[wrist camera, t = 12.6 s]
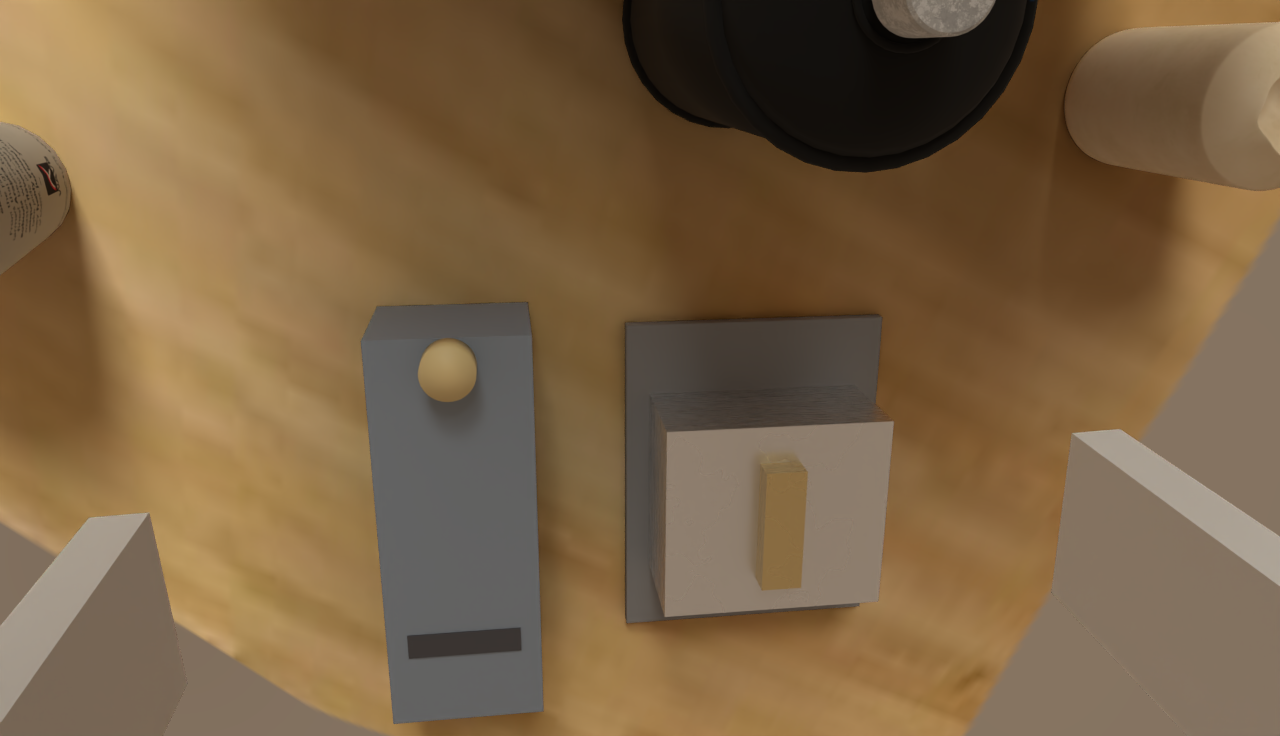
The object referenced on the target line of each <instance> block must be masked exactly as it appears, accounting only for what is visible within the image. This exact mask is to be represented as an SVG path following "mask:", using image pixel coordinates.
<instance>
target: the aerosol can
mask: <svg viewBox="0 0 1280 736" xmlns="http://www.w3.org/2000/svg"><path fill="white" fill-rule="evenodd" d="M1037 2H1038V0H624V2H623V18H622V22H623V30H624V38H625V44H626V47H627V50H628V53H629V57H630V60H631V63H632V65H633V67H634V69H635V71H636V72H637V74H638V76H639V78H640V80H641V82H642V83H643V85H644V86H645V87H646V88H647V89H648V91H649V92H650V93H651V94H652V95H653V97H654V98H655V99H656V100H657V101H659V102H660V103H661V104H662V105H663V106H665V107H666V108H667V109H668V110H670V111H671V112H672V113H674V114H676V115H678V116H680V117H682V118H684V119H686V120H688V121H690V122H693V123H697V124H701V125H704V126H708V127H719V128H735V129H738V130H742V131H745V132H748V133H751V134H754V135H757V136H761V137H764V138H766V139H767V140H768V141H770V142H771V143H772V144H773V145H774V146H776V147H777V148H779V149H780V150H782V151H784V152H786V153H788V154H790V155H792V156H794V157H796V158H798V159H799V160H801V161H803V162H805V163H809V164H813V165H816V166H820V167H823V168H827V169H831V170H834V171H848V172H865V173H866V172H873V171H880V170H887V169H894V168H898V167H901V166H904V165H907V164H910V163H912V162H915V161H918V160H921V159H924V158H926V157H929V156H931V155H932V154H934V153H936V152H937V151H939V150H941V149H942V148H944V147H946V146H947V145H949V144H951V143H953V142H954V141H956V140H957V139H959V138H960V137H961V136H962V135H963V134H964V133H966V132H967V131H968V130H969V129H970V128H971V127H972V126H974V125H975V124H976V123H977V122H978V121H979V120H980V119H982V118H983V116H984V115H985V114H986V113H987V112H988V110H989V109H990V108H991V107H992V105H993V104H994V103H995V102H996V100H997V99H998V98H999V97H1000V95H1001V94H1002V93H1003V92H1004V90H1005V88H1006V87H1007V85H1008V83H1009V81H1010V80H1011V78H1012V76H1013V74H1014V72H1015V71H1016V69H1017V67H1018V65H1019V64H1020V62H1021V59H1022V57H1023V54H1024V51H1025V48H1026V46H1027V43H1028V40H1029V37H1030V34H1031V32H1032V29H1033V24H1034V19H1035V13H1036V8H1037Z"/></svg>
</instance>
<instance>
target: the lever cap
mask: <svg viewBox="0 0 1280 736" xmlns="http://www.w3.org/2000/svg"><path fill="white" fill-rule="evenodd" d="M893 427H894V421H893V420H892V419H891V418H890V417H889V416H888V415H887V414H885V413H884V412H883V411H882V410H881V409H880V408H879V407H878V406H877V405H876V404H875V403H874V402H873V401H871V400H870V399H869V398H868V397H867V396H866V395H865V394H864V393H863V392H862V391H861V390H860V389H859V388H857V387H856V386H855V385H841V386H818V387H794V388H770V389H747V390H723V391H700V392H676V393H652V394H650V419H649V566H650V569H651V573H652V576H653V579H654V583H655V586H656V589H657V593H658V596H659V599H660V603H661V606H662V610H663V613H664V616H665V617H672V616H685V615H699V614H713V613H727V612H741V611H754V610H768V609H782V608H796V607H810V606H823V605H837V604H851V603H865V602H878V600H879V589H880V577H881V565H882V554H883V542H884V531H885V519H886V508H887V496H888V484H889V473H890V461H891V450H892V438H893Z"/></svg>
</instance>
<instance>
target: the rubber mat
mask: <svg viewBox="0 0 1280 736" xmlns="http://www.w3.org/2000/svg"><path fill="white" fill-rule="evenodd" d="M881 329H882V317H881V316H880V315H878V314H875V315H844V316H814V317H783V318H752V319H722V320H691V321H660V322H630V323H625V618H626V622H627V623H636V622H649V621H663V620H677V619H690V618H704V617H718V616H732V615H745V614H759V613H773V612H786V611H800V610H814V609H828V608H841V607H855V606H859V603H851V604H837V605H823V606H810V607H796V608H782V609H768V610H754V611H741V612H727V613H713V614H699V615H685V616H672V617H665V616H664V613H663V610H662V606H661V603H660V599H659V596H658V593H657V589H656V586H655V583H654V579H653V576H652V573H651V569H650V566H649V419H650V394H652V393H676V392H700V391H723V390H747V389H770V388H794V387H818V386H841V385H855V386H856V387H857V388H859V389H860V390H861V391H862V392H863V393H864V394H865V395H866V396H867V397H868V398H869V399H870V400H871V401H873V402H874V403H875V404H876V391H877V379H878V366H879V354H880V341H881Z"/></svg>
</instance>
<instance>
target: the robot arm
mask: <svg viewBox="0 0 1280 736" xmlns="http://www.w3.org/2000/svg"><path fill="white" fill-rule="evenodd" d="M1051 593H1052V594H1053V595H1054V596H1055V597H1056V598H1057V599H1058V600H1059V601H1060V602H1061V604H1062V605H1063V606H1064V607H1065V608H1066V609H1067V610H1068V611H1069V612H1070V613H1071V614H1072V615H1073V616H1074V617H1075V618H1076V619H1077V620H1078V621H1079V623H1080V624H1081V625H1082V626H1083V627H1084V628H1085V629H1086V630H1087V631H1088V632H1089V633H1090V634H1091V635H1092V636H1093V637H1094V638H1095V639H1096V640H1097V642H1098V643H1099V644H1100V645H1101V646H1102V647H1103V648H1104V649H1105V650H1106V651H1107V652H1108V653H1109V654H1110V655H1111V656H1112V657H1113V658H1114V659H1115V660H1116V661H1117V663H1118V664H1119V665H1120V666H1121V667H1122V668H1123V669H1124V670H1125V671H1126V672H1127V673H1128V674H1129V675H1130V676H1131V677H1132V678H1133V679H1134V681H1135V682H1136V683H1137V684H1139V686H1140V687H1141V688H1142V689H1143V690H1144V691H1145V692H1146V693H1147V694H1148V695H1149V696H1150V697H1151V698H1152V699H1153V700H1154V702H1155V703H1156V704H1157V705H1158V706H1159V707H1160V708H1161V709H1162V710H1163V711H1164V712H1165V713H1166V714H1167V715H1168V716H1169V717H1170V718H1171V719H1172V721H1173V722H1174V723H1175V724H1176V725H1177V726H1178V727H1179V728H1180V729H1181V730H1182V731H1183V732H1184V733H1185V734H1186V735H1187V736H1280V536H1278V535H1277V534H1275V533H1274V532H1272V531H1271V530H1269V529H1268V528H1266V527H1265V526H1263V525H1262V524H1260V523H1259V522H1257V521H1256V520H1254V519H1253V518H1252V517H1250V516H1249V515H1247V514H1245V513H1244V512H1243V511H1241V510H1240V509H1238V508H1236V507H1235V506H1234V505H1232V504H1231V503H1229V502H1228V501H1226V500H1225V499H1223V498H1222V497H1220V496H1218V495H1217V494H1216V493H1214V492H1213V491H1211V490H1210V489H1208V488H1207V487H1205V486H1204V485H1202V484H1201V483H1199V482H1198V481H1196V480H1195V479H1193V478H1192V477H1191V476H1189V475H1188V474H1186V473H1185V472H1183V471H1182V470H1180V469H1179V468H1177V467H1176V466H1174V465H1173V464H1171V463H1170V462H1168V461H1167V460H1165V459H1164V458H1162V457H1161V456H1159V455H1158V454H1156V453H1155V452H1153V451H1152V450H1150V449H1149V448H1147V447H1146V446H1144V445H1143V444H1141V443H1140V442H1138V441H1137V440H1135V439H1134V438H1133V437H1131V436H1130V435H1128V434H1127V433H1125V432H1124V431H1122V430H1121V429H1115V430H1103V431H1091V432H1080V433H1072V435H1071V443H1070V451H1069V459H1068V466H1067V474H1066V482H1065V490H1064V498H1063V505H1062V513H1061V521H1060V529H1059V537H1058V544H1057V552H1056V560H1055V568H1054V576H1053V583H1052V591H1051ZM187 684H188V683H187V678H186V674H185V670H184V665H183V661H182V656H181V652H180V648H179V643H178V638H177V634H176V630H175V625H174V621H173V616H172V612H171V607H170V603H169V598H168V594H167V589H166V585H165V581H164V576H163V572H162V567H161V563H160V558H159V554H158V550H157V545H156V541H155V536H154V532H153V527H152V523H151V518H150V514H149V513H137V514H126V515H114V516H102V517H91V518H88V519H87V521H86V522H85V523H84V524H83V526H82V527H81V528H80V529H79V530H78V532H77V533H76V534H75V535H74V537H73V538H72V539H71V540H70V541H69V543H68V544H67V545H66V546H65V548H64V549H63V550H62V551H61V552H60V554H59V555H58V556H57V557H56V559H55V560H54V561H53V562H52V563H51V565H50V566H49V567H48V568H47V570H46V571H45V572H44V573H43V574H42V576H41V577H40V578H39V579H38V581H37V582H36V583H35V584H34V585H33V587H32V588H31V589H30V591H29V592H28V593H27V594H26V595H25V597H24V598H23V599H22V600H21V601H20V603H19V604H18V605H17V606H16V607H15V609H14V610H13V611H12V613H11V614H10V615H9V616H8V617H7V619H6V620H5V621H4V622H3V623H2V625H1V626H0V736H163V735H164V733H165V731H166V729H167V726H168V724H169V722H170V720H171V718H172V716H173V714H174V711H175V709H176V707H177V705H178V703H179V701H180V699H181V696H182V694H183V692H184V690H185V688H186V686H187Z"/></svg>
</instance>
